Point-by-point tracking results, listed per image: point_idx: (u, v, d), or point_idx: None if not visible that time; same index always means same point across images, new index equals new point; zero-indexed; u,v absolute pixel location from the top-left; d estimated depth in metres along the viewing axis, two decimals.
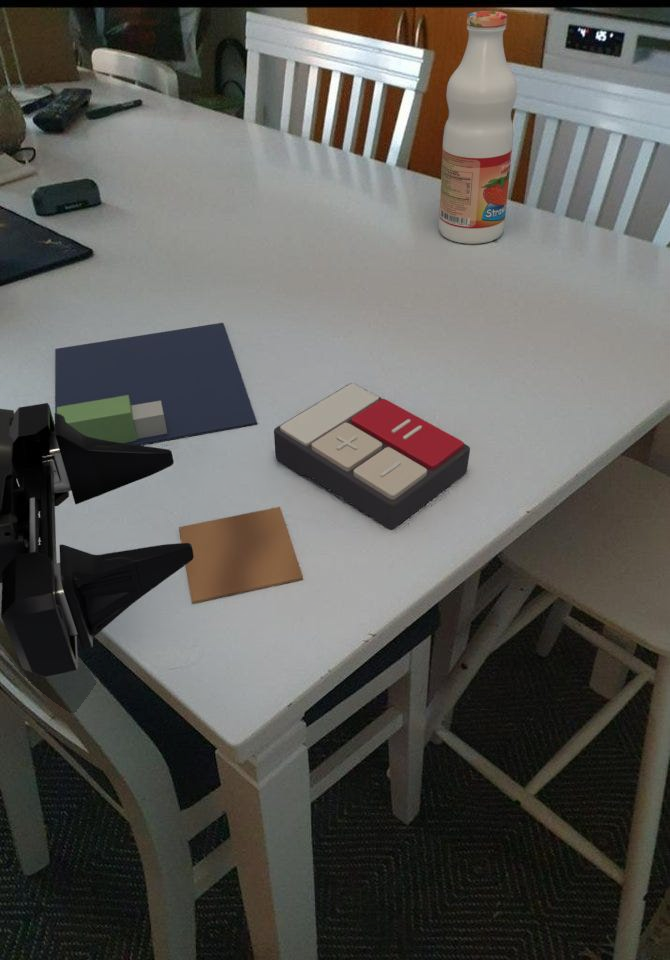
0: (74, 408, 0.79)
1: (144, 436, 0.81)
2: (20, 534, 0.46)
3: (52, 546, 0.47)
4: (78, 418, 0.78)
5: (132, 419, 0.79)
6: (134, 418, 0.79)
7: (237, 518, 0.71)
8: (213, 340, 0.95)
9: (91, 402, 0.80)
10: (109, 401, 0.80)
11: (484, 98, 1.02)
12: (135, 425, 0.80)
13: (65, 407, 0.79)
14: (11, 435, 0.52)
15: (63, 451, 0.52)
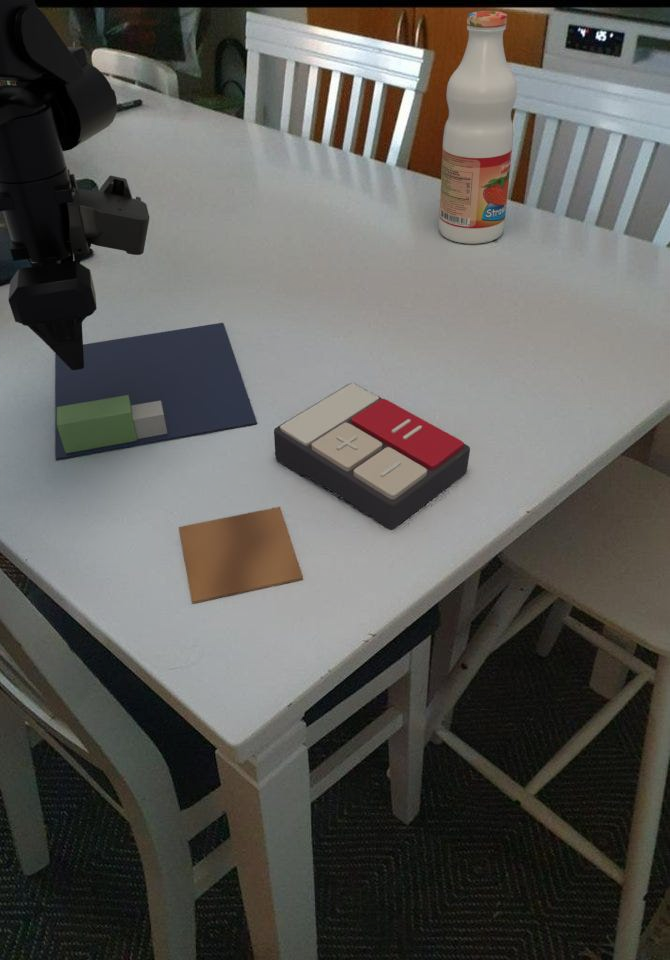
0: (74, 408, 0.79)
1: (144, 436, 0.81)
2: (69, 253, 0.67)
3: None
4: (78, 418, 0.78)
5: (132, 419, 0.79)
6: (134, 418, 0.79)
7: (237, 518, 0.71)
8: (213, 340, 0.95)
9: (91, 402, 0.80)
10: (109, 401, 0.80)
11: (484, 97, 1.02)
12: (135, 425, 0.80)
13: (65, 407, 0.79)
14: None
15: None
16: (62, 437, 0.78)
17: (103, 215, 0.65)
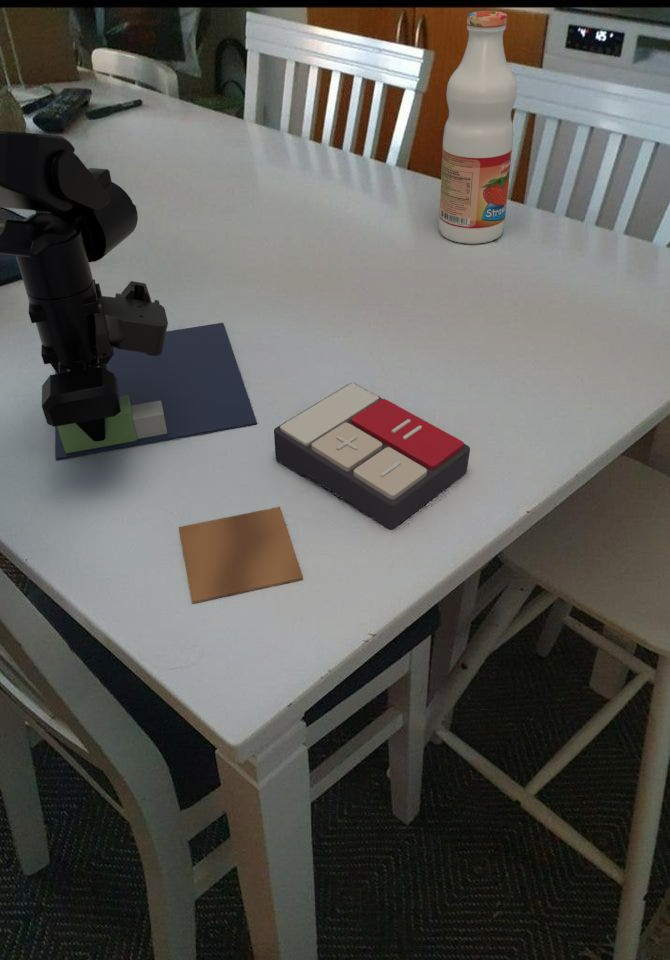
0: None
1: (144, 436, 0.81)
2: (95, 356, 0.73)
3: None
4: None
5: (132, 419, 0.79)
6: (134, 418, 0.79)
7: (237, 518, 0.71)
8: (213, 340, 0.95)
9: None
10: None
11: (484, 97, 1.02)
12: (135, 425, 0.80)
13: None
14: None
15: None
16: (62, 437, 0.78)
17: (126, 323, 0.72)
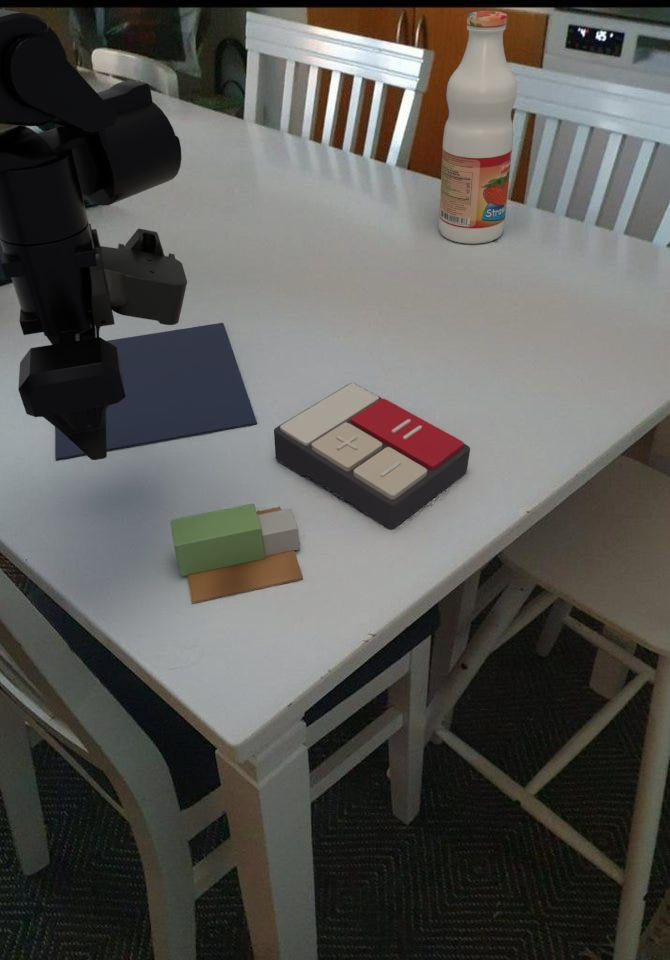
0: (192, 522, 0.66)
1: (273, 553, 0.67)
2: (91, 325, 0.55)
3: None
4: (199, 536, 0.64)
5: (262, 535, 0.66)
6: (263, 533, 0.66)
7: None
8: (213, 340, 0.95)
9: (211, 513, 0.66)
10: (232, 512, 0.66)
11: (484, 97, 1.02)
12: (264, 541, 0.66)
13: (180, 520, 0.66)
14: None
15: None
16: (179, 559, 0.65)
17: (132, 280, 0.54)
